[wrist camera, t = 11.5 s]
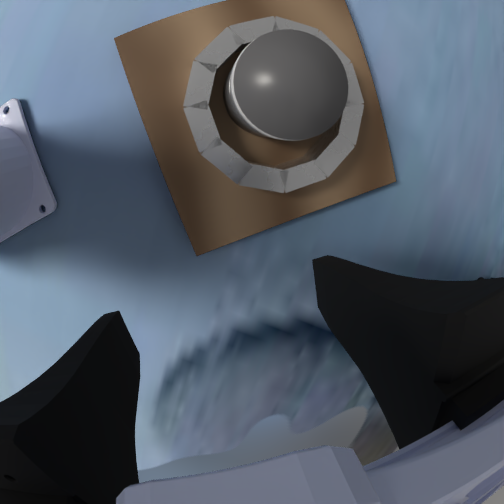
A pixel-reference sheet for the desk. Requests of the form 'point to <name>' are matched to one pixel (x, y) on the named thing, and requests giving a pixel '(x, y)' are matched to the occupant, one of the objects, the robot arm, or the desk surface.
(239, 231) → the walnut board
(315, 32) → the mount ring
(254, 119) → the charcoal lens
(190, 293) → the desk surface
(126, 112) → the desk surface
